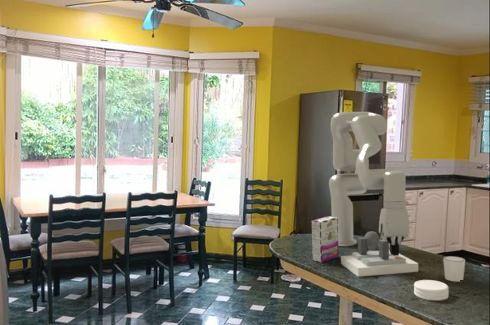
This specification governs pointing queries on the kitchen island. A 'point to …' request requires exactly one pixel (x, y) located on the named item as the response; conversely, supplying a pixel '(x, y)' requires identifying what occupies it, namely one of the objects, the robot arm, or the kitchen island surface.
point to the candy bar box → (325, 239)
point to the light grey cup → (454, 268)
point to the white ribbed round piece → (431, 290)
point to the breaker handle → (384, 249)
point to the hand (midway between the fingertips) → (394, 254)
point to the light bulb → (372, 240)
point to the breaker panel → (378, 268)
